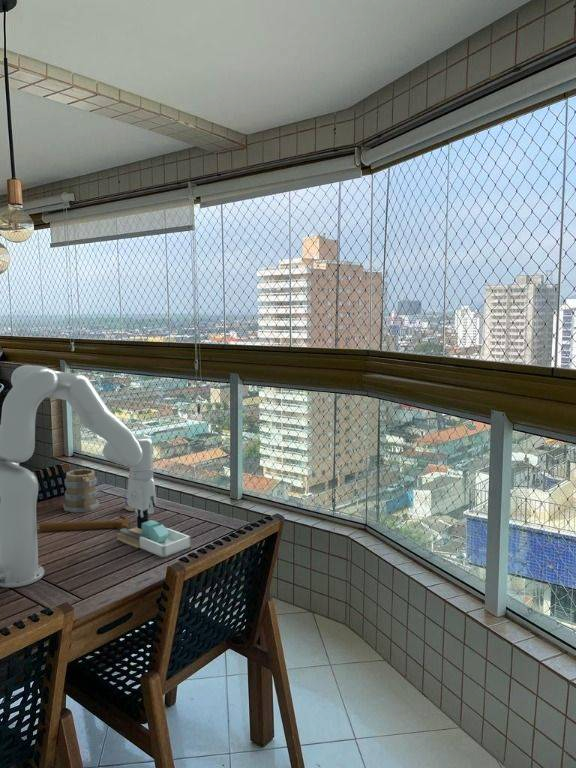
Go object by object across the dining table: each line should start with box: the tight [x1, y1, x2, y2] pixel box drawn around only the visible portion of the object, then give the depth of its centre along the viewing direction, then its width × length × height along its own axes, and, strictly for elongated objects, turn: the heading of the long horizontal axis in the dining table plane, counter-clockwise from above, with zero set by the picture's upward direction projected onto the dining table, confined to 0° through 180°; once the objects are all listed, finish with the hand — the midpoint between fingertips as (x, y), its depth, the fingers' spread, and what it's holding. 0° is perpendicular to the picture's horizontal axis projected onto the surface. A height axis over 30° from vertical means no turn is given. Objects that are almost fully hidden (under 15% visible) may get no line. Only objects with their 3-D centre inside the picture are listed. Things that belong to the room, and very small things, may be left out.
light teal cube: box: [149, 524, 169, 544], centre depth 179 cm, size 4×4×4 cm
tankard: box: [62, 468, 100, 514], centre depth 211 cm, size 20×13×15 cm, turn 28°
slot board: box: [116, 526, 151, 548], centre depth 184 cm, size 12×11×3 cm
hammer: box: [39, 514, 131, 533], centre depth 193 cm, size 12×3×30 cm
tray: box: [139, 527, 192, 559], centre depth 177 cm, size 11×12×4 cm
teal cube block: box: [142, 519, 160, 538], centre depth 182 cm, size 4×4×4 cm
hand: (142, 527), depth 184 cm, fingers closed
